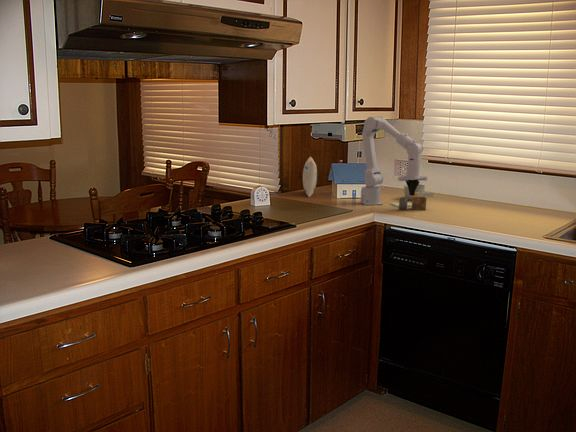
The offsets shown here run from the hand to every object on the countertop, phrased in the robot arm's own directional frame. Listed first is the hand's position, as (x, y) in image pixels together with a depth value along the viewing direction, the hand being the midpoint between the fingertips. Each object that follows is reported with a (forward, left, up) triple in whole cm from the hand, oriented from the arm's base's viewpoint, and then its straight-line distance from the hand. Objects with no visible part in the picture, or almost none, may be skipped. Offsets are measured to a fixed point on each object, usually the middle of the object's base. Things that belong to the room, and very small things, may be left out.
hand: (411, 195), depth 290 cm
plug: (-4, 0, -7) cm, 8 cm away
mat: (+1, +11, -7) cm, 13 cm away
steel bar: (+6, 0, -1) cm, 6 cm away
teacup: (+14, +25, -7) cm, 30 cm away
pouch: (-38, +47, -7) cm, 61 cm away
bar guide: (+4, 0, -7) cm, 8 cm away
